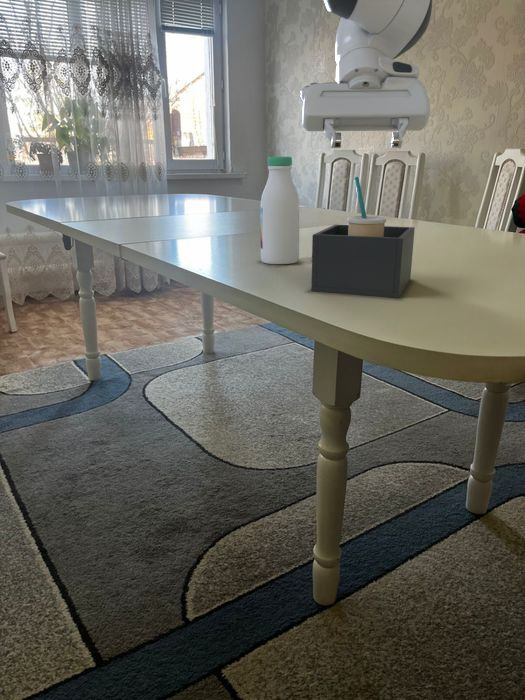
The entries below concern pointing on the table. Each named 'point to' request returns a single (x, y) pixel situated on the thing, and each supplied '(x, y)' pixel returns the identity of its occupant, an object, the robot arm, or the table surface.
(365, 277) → the bin
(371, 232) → the takeaway cup
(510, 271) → the table surface
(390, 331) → the table surface
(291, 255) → the milk bottle
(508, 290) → the table surface
